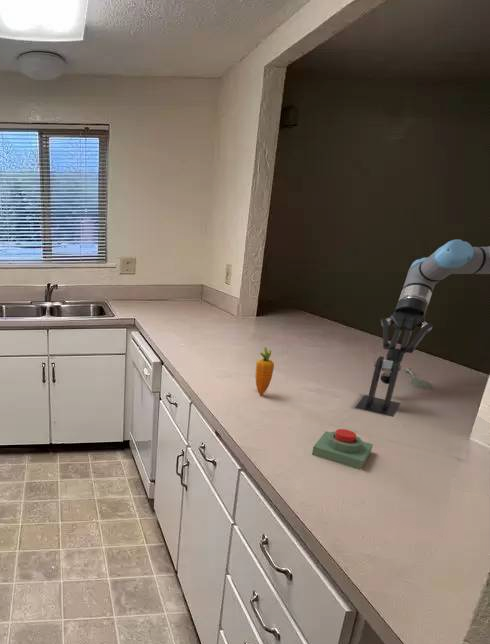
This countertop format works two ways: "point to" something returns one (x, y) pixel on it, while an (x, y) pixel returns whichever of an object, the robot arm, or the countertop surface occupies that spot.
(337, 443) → the button box
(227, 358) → the countertop surface
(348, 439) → the button
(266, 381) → the carrot
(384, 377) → the grey swinging pendulum
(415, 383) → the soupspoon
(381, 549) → the countertop surface
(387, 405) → the twin-post stand
